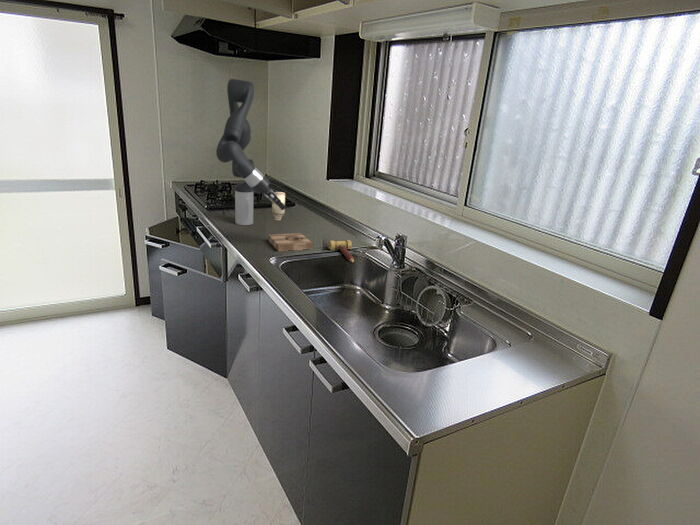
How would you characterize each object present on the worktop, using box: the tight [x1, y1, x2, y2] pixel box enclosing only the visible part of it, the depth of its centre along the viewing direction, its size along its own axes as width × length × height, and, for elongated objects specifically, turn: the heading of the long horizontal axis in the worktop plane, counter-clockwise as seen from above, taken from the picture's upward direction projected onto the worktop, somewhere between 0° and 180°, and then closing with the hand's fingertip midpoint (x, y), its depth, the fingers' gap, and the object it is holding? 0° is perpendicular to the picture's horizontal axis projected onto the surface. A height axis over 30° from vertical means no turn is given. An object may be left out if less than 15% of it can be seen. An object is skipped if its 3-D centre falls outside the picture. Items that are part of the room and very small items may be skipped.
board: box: [267, 232, 313, 252], centre depth 207 cm, size 16×16×3 cm
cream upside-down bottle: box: [271, 191, 286, 221], centre depth 199 cm, size 6×6×12 cm
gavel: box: [328, 239, 355, 263], centre depth 200 cm, size 21×5×10 cm
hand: (282, 206), depth 200 cm, fingers closed on cream upside-down bottle, 5 cm apart
